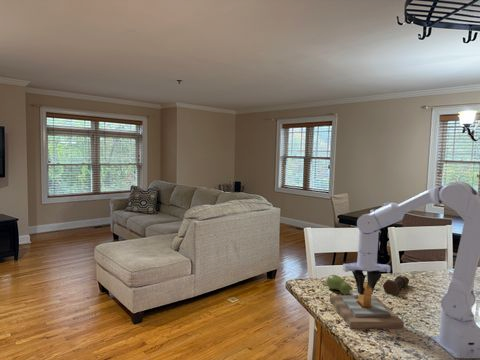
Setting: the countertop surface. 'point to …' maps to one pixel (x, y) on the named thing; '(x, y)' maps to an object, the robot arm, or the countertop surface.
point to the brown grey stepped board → (365, 312)
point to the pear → (339, 284)
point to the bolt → (395, 285)
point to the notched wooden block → (365, 297)
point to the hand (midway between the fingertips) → (364, 293)
